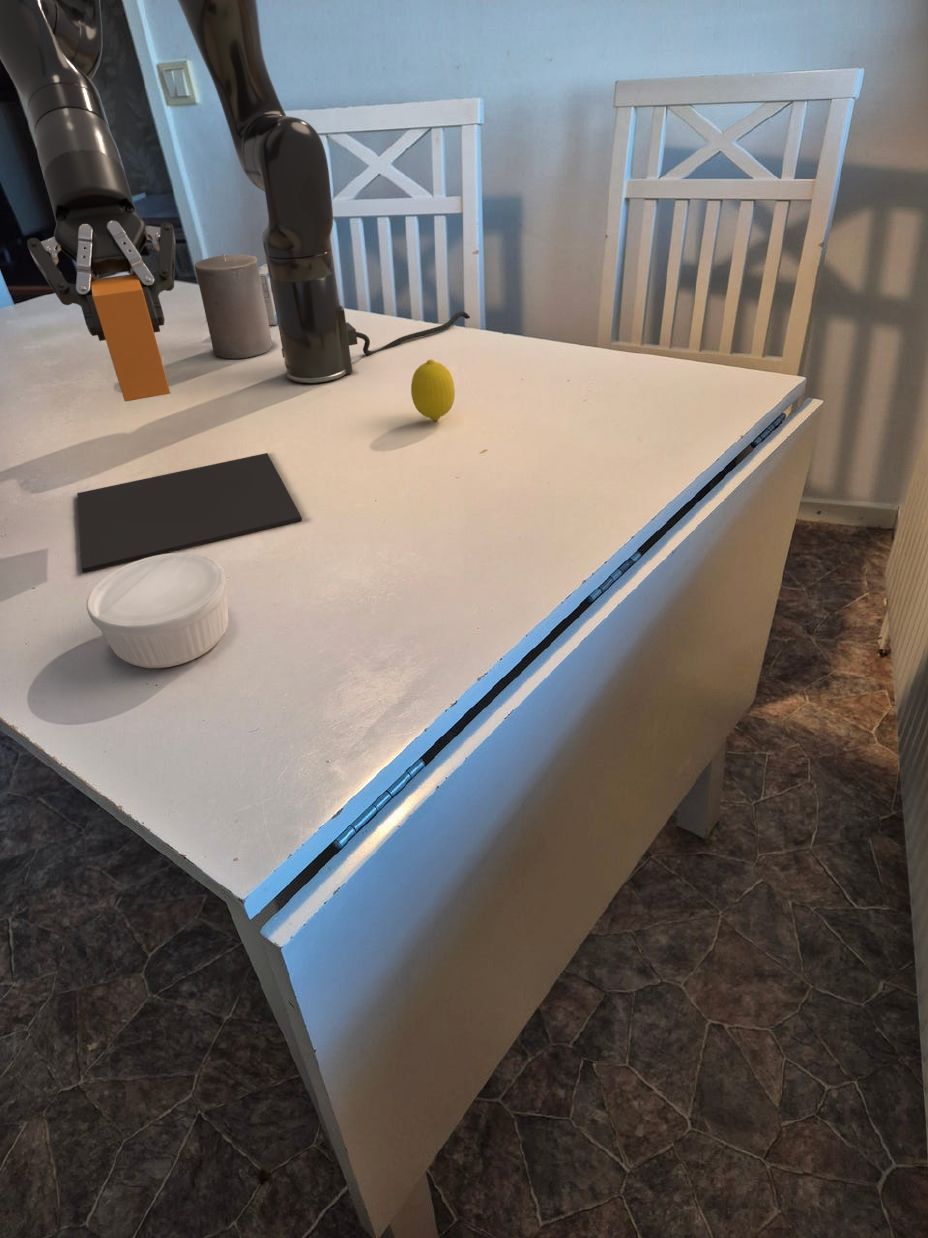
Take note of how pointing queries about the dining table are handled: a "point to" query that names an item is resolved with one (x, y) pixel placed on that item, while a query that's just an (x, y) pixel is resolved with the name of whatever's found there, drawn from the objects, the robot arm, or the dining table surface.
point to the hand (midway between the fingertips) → (129, 331)
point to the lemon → (432, 390)
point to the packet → (130, 336)
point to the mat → (181, 511)
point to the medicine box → (268, 294)
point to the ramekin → (162, 609)
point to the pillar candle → (234, 305)
